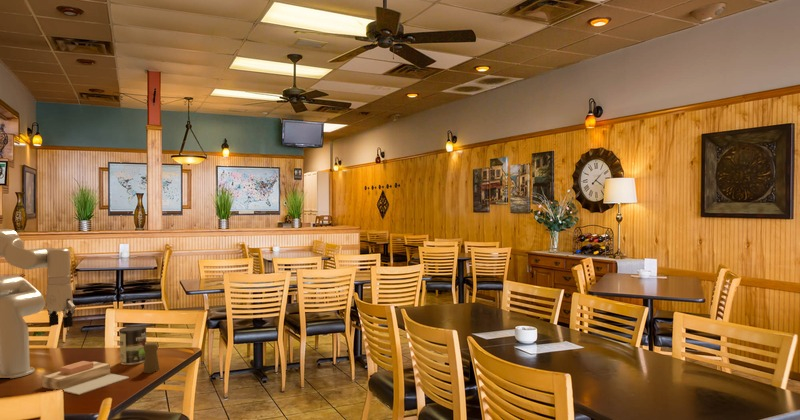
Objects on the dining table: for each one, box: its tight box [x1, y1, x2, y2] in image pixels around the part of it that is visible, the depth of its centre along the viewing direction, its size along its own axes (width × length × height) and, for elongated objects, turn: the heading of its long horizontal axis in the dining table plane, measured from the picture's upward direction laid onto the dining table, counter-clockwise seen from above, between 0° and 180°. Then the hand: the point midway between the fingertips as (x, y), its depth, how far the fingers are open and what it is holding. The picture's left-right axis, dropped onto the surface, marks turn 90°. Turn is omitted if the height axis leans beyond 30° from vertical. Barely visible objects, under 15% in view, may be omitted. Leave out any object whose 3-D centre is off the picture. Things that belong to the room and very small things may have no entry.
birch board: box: [41, 360, 111, 391], centre depth 211 cm, size 10×20×4 cm, turn 154°
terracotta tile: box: [59, 360, 93, 374], centre depth 211 cm, size 6×9×2 cm, turn 153°
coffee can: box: [118, 325, 147, 366], centre depth 235 cm, size 10×10×14 cm
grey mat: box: [63, 373, 130, 396], centre depth 206 cm, size 11×20×1 cm, turn 154°
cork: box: [142, 342, 160, 374], centre depth 221 cm, size 6×6×11 cm
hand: (60, 325), depth 214 cm, fingers open, 8 cm apart
